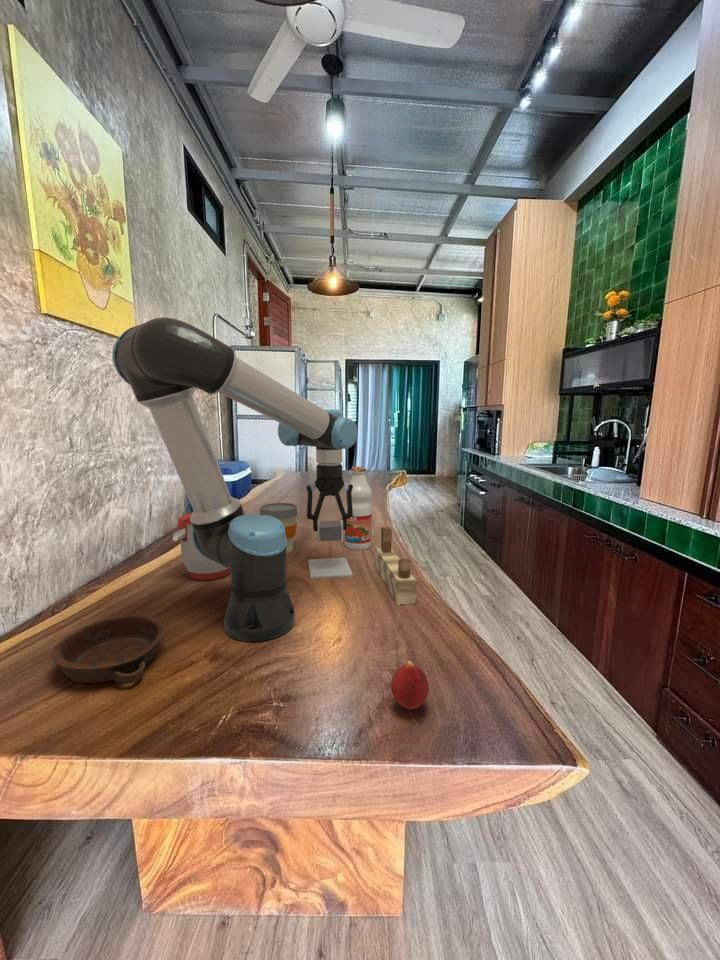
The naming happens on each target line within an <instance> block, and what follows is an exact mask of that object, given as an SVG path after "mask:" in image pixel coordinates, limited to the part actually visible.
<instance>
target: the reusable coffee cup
mask: <svg viewBox="0 0 720 960" xmlns="http://www.w3.org/2000/svg"><path fill="white" fill-rule="evenodd" d="M259 514H261V515H268V516H272V517H274V518H277V519H278V520H280V521H281V522H282V523H283V525H284V527H285V532H286V539H287V543H286V554H288V553H289V552H292V551H293V549H294V540H295V536H296V535H297V534H296V533H297V525H298V521H297V516H298V507H297V505H296V504H295V503H290V502H289V503H288V502H274V503H273V502H272V503H266V504H263V505H261V506H260V507H259Z"/></svg>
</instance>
